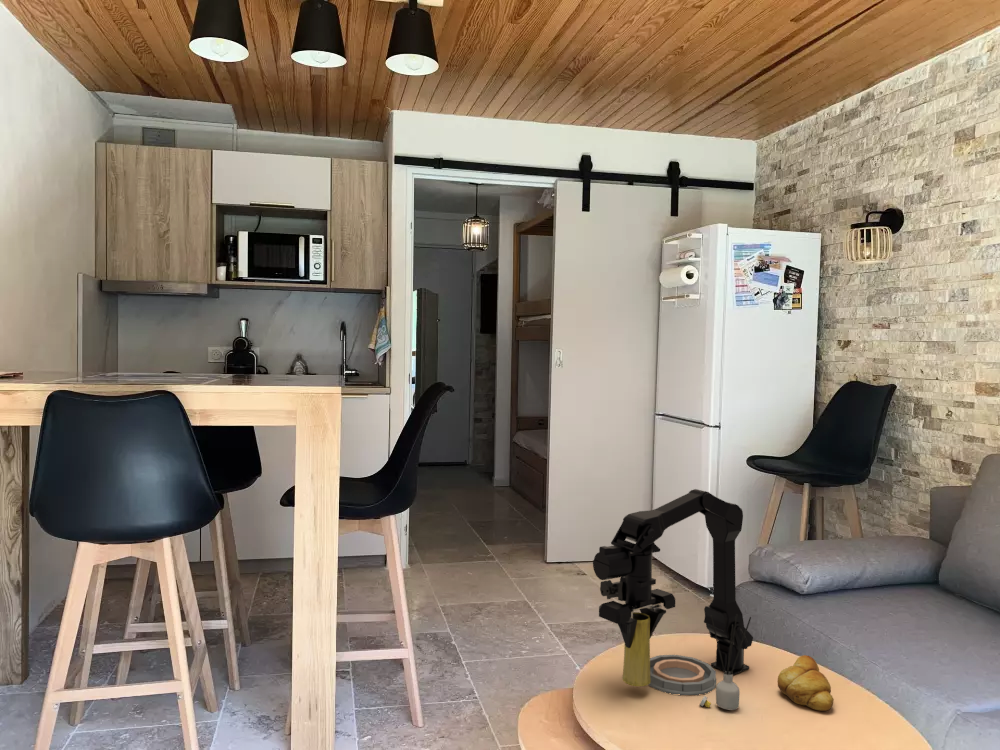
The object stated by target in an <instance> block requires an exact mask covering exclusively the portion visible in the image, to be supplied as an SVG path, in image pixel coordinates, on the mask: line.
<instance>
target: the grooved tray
mask: <svg viewBox="0 0 1000 750" xmlns="http://www.w3.org/2000/svg"><path fill="white" fill-rule="evenodd" d="M650 679H651V683H650V684H649V685H648V686H649V687H651V688H652V689H655V690H656V689H657V691H660V692H662V693H665V692H666V694H669V693H671V694H670V695H673V694H680V695H679V696H681V695H697V696H700V695H699V694H703V695H705V693H706V694H709V693H711V692H712V690H713V689H714V688H715V689H716V686H717V671H716V670H715V669H714V667H712V666H711V664H709V663H708V662H705V661H703V660H700V659H698V658H696V657H691V656H685V655H681V654H680V655H679V654H659V655H655V656H651V657H650ZM715 689H714V690H715ZM710 691H711V692H710ZM708 692H709V693H708Z"/></svg>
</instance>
